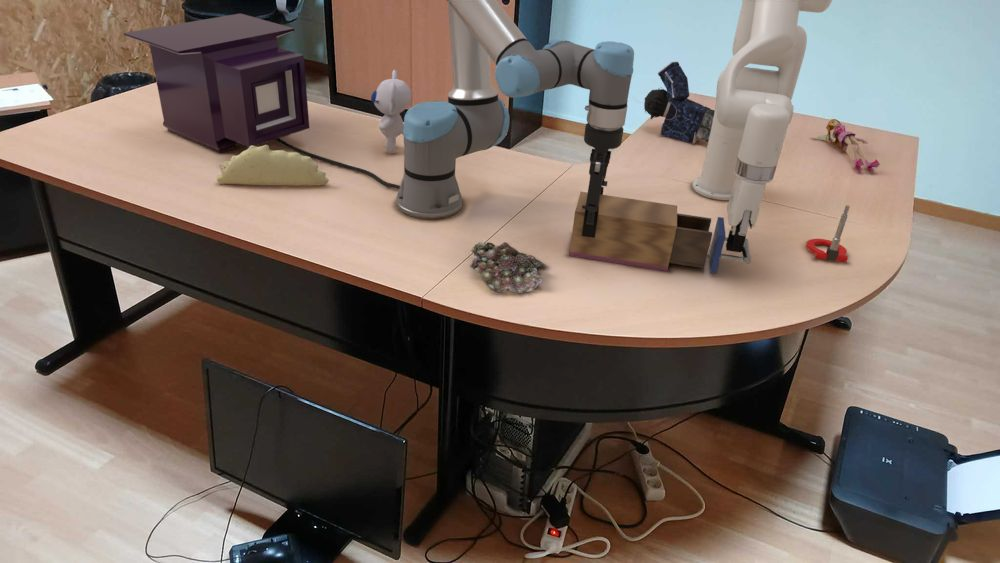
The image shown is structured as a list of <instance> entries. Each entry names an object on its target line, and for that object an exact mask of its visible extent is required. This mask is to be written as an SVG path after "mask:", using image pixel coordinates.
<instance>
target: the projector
mask: <svg viewBox="0 0 1000 563" xmlns="http://www.w3.org/2000/svg"><path fill="white" fill-rule="evenodd" d="M294 31H295V28H294V27H292V26H287V25H283V24H279V23H276V22H272V21H269V20H264V19H262V18H259V17H256V16H255V17H254V16H252V15H247V14H244V13H235V14H230V15H224V16H217V17H212V18H205V19H200V20H194V21H188V22H181V23H175V24H169V25H163V26H157V27H151V28H146V29H145V28H144V29H139V30H134V31H128V32H123V36H125V37H127V38H130V39H133V40H136V41H138V42H142V43H145V44H148V45H149V50H150V54H151V60H152V66H153V71H154V75H155V76H154V77H155V82H156V87H157V92H158V97H159V102H160V107H161V113H162V118H163V122H162V126H163V127H165V128H166V129H167V131H168V132H170V133H172V134H175V135H177V136H179V137H182V138H184V139H187V140H189V141H191V142H193V143H196V144H197V145H200V146H203V147H205V148H207V149H209V150H212V151H215V152H217V153H219V154H220V153H224V152H227V151H229V150H233V149H235V148H237V144H240V145H242V146H245V147H247V148H249V147H250V146H251V145H253V146H256V147H257V146H259V145H262V144H266V143H269V142H271V141H276V140H275V139H278V138H279V139H281V138H285V137H287V136H289V135H293V134H296V133H300V132H302V131H305V130H308V129H310V118H309V105H308V94H307V93H308V92H307V80H306V79H307V78H306V68H305V56H304V54H303V53H302V54H301V53H297V52H296V51H295V52H294V51H291V50H288V49H285V48H282V47H279V44H278V40H277V38H280V37H282V36H286V35H287V34H291V33H292V32H294Z"/></svg>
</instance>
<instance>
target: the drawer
mask: <svg viewBox="0 0 1000 563" xmlns="http://www.w3.org/2000/svg"><path fill="white" fill-rule="evenodd" d="M711 223H712V218H711V217H707V216H706V217H705V216H700V215H699V216H698V215H691V214H684V213H678V212H677V229H676V233H675V238H674V243H673V247H672V252H671V257H670V261H669V264H672V265H673V264H675V265H680V266H687V267H693V268H700V269H705V265H706V262H707V259H708V258H707V257H709V268H710V269H709V270H710V271H709V272H710V273H711V274H717V272H718V268H719V264H720V260H721V259H729V260H734V261H740V262H741V261H742V262H743V263H744V264H745V265H749V264H751V263H752V256H751V255H752V254H751V249H750V244H749V242H750V241H749V239H748V238H747V237H746V238H745V242H744V246H743V249H742V252H741V255H742V256H739V255H732V254H726V253H722V252H723V248H724V246H725V242H727V239H728V236H727V237H726V226H725V218H724V217H721V216H717V219H716V223H715V226H714V231H713V232H712V231H710V227H711ZM708 254H709V255H708Z"/></svg>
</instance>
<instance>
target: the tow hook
mask: <svg viewBox="0 0 1000 563" xmlns="http://www.w3.org/2000/svg"><path fill="white" fill-rule="evenodd" d="M850 207H851V206H850V205H849V204H846V205H845V207H844V210H843V213H842V214H841V215H840V219H839V221H838V225H837V228H836V231H835V234H834V236H833V238H832V240H829V239H825V238H811V239H808V241H807V242H806V244H805V246H806V248H807V250H808V251H810V252H811V253H813V254H814V258H815V259H821V260H826V261H833V262H836V261H838V262H844V263H847V261H848V258H849V257H848V255H847V252H848V251H847V248H846V247H844V246H843V245H842V244H840V243H841V237H842V234H843V231H844V228H845V226H846V222H847V220H848V217H849V215H848V213H849V210H850ZM816 245H824V246H827V248H826V251H824V250H822V249H821V248H820V249H819V248H818V247H817V246H816Z"/></svg>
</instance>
